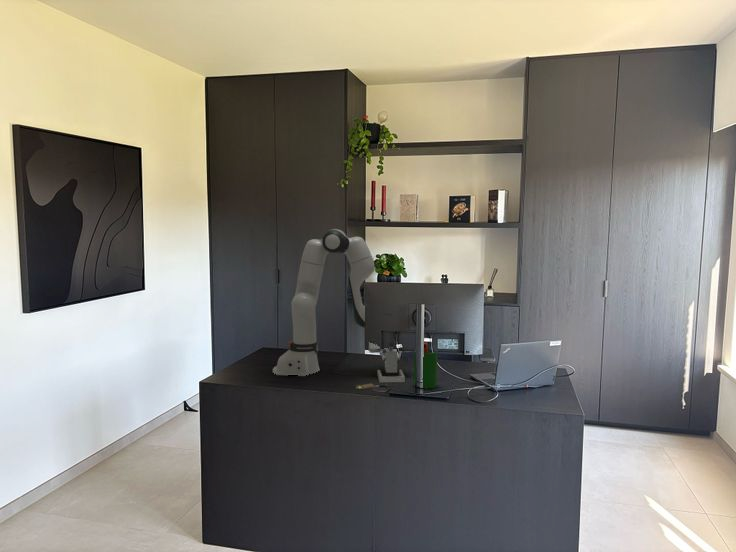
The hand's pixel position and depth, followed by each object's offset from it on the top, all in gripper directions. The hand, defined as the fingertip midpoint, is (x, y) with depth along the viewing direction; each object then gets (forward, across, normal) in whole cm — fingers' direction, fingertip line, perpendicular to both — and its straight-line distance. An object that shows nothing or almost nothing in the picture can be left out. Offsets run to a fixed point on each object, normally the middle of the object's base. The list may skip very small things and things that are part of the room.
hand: (391, 359), depth 243 cm
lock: (+3, 0, +4) cm, 5 cm away
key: (+15, -13, -2) cm, 20 cm away
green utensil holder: (+15, +14, -2) cm, 20 cm away
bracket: (+6, 0, +7) cm, 9 cm away
